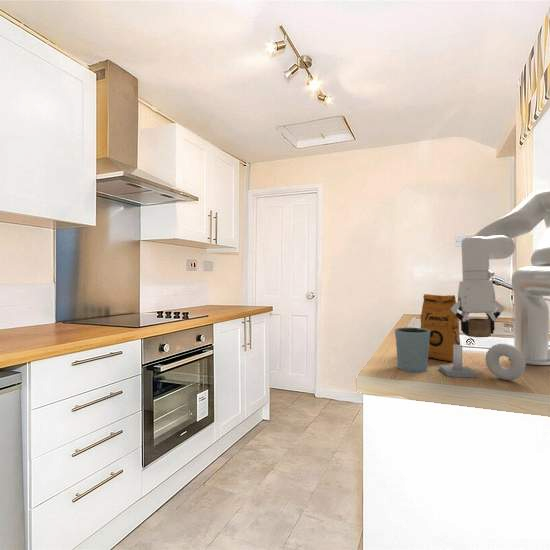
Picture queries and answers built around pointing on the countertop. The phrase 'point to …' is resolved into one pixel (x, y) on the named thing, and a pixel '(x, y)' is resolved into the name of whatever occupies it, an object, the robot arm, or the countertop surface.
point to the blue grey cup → (412, 349)
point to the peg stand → (457, 365)
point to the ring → (479, 327)
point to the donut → (515, 358)
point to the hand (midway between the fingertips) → (477, 332)
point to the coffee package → (440, 325)
